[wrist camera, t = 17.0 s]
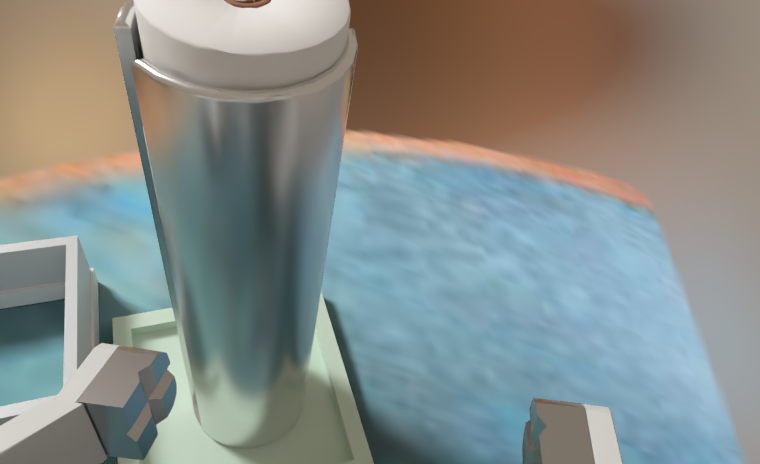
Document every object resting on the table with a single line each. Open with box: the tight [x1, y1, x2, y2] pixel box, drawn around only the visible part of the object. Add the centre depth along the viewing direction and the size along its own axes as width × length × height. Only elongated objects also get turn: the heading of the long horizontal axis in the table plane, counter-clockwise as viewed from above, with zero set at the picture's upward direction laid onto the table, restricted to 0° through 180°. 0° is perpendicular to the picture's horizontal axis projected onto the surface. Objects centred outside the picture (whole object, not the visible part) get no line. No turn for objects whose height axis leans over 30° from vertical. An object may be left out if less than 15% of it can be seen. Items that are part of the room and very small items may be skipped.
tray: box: [112, 292, 374, 464], centre depth 33 cm, size 13×13×1 cm
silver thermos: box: [114, 0, 358, 449], centre depth 24 cm, size 6×6×25 cm
